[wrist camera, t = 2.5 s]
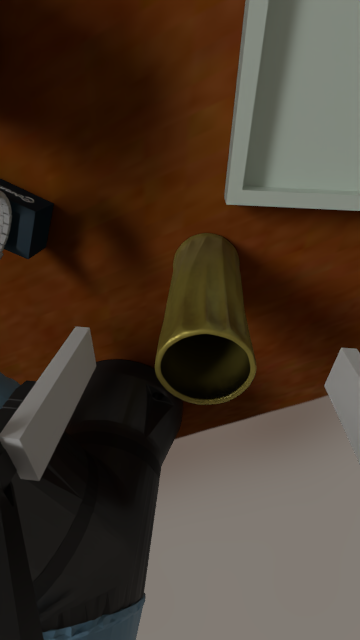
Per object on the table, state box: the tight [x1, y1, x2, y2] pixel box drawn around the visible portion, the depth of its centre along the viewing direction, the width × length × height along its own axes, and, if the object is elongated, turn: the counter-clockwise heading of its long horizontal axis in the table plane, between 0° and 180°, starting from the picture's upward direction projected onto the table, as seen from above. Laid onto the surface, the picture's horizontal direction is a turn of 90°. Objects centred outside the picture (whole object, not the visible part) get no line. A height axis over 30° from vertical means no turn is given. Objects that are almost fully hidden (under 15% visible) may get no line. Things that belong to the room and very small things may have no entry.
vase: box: [155, 233, 256, 405], centre depth 20 cm, size 6×6×14 cm
